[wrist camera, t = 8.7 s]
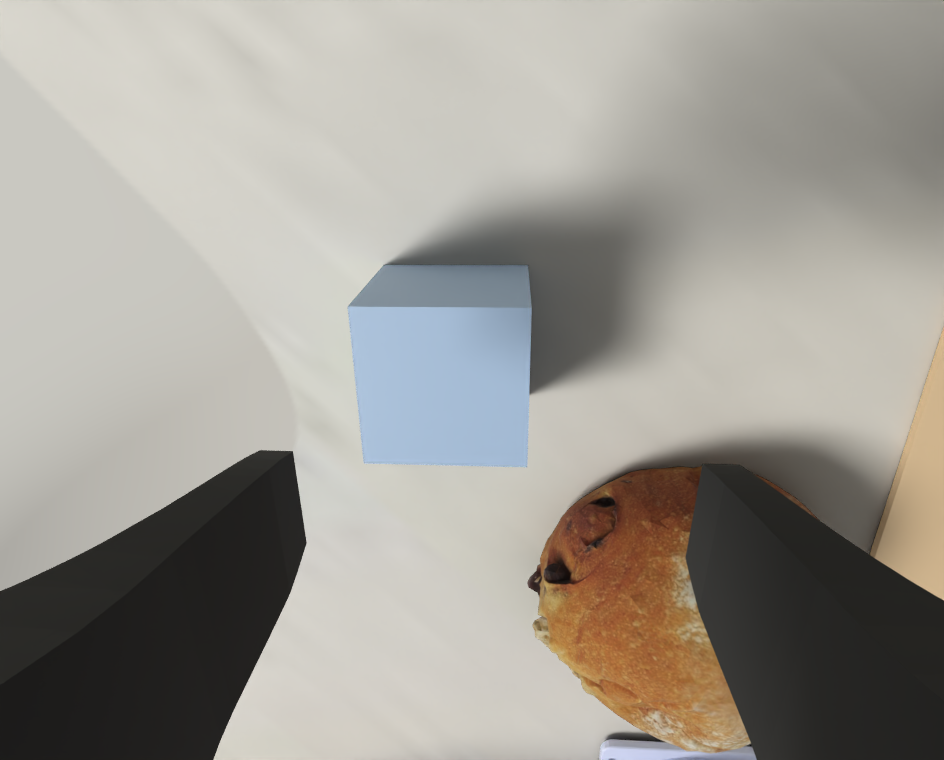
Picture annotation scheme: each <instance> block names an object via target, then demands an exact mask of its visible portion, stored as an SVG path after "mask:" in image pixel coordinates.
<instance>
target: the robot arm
mask: <svg viewBox="0 0 944 760" xmlns="http://www.w3.org/2000/svg"><path fill="white" fill-rule="evenodd" d="M305 546H306V537H305V530H304V523H303V516H302V510H301V503H300V496H299V490H298V483H297V476H296V470H295V463H294V456H293V451H263V450H261V451H258V452H256V453H254V454H252V455H250V456H248V457H246V458H244V459H243V460H241V461H239V462H237V463H236V464H234V465H233V466H231V467H229V468H228V469H226V470H224V471H223V472H221V473H220V474H218V475H216V476H215V477H213V478H212V479H210V480H208V481H207V482H205V483H203V484H202V485H200V486H199V487H197V488H195V489H194V490H192V491H190V492H189V493H188V494H186V495H184V496H182V497H181V498H179V499H177V500H176V501H174V502H173V503H171V504H169V505H168V506H166V507H164V508H163V509H161V510H159V511H158V512H156V513H154V514H152V515H150V516H149V517H147V518H145V519H143V520H142V521H140V522H138V523H136V524H135V525H133V526H131V527H129V528H128V529H126V530H124V531H122V532H121V533H119V534H117V535H115V536H113V537H112V538H110V539H108V540H106V541H105V542H103V543H101V544H99V545H97V546H95V547H93V548H92V549H89V550H88V551H86V552H84V553H82V554H80V555H78V556H76V557H74V558H72V559H70V560H68V561H66V562H64V563H61V564H59V565H57V566H55V567H53V568H51V569H49V570H47V571H45V572H42V573H40V574H38V575H36V576H34V577H32V578H30V579H28V580H25V581H23V582H21V583H19V584H16V585H14V586H12V587H10V588H7V589H5V590H2V591H0V760H213V759H214V756H215V753H216V751H217V748H218V745H219V743H220V740H221V738H222V735H223V733H224V731H225V729H226V726H227V724H228V722H229V719H230V717H231V715H232V713H233V710H234V708H235V706H236V704H237V702H238V700H239V698H240V696H241V694H242V692H243V690H244V688H245V686H246V684H247V682H248V680H249V678H250V676H251V674H252V671H253V669H254V667H255V665H256V663H257V661H258V659H259V657H260V655H261V653H262V651H263V649H264V647H265V645H266V643H267V641H268V639H269V637H270V635H271V632H272V630H273V628H274V626H275V624H276V622H277V620H278V618H279V616H280V614H281V612H282V609H283V607H284V605H285V603H286V601H287V599H288V597H289V594H290V592H291V589H292V586H293V583H294V580H295V577H296V574H297V572H298V568H299V565H300V562H301V559H302V556H303V552H304V549H305ZM685 558H686V563H687V567H688V571H689V575H690V579H691V584H692V588H693V592H694V595H695V599H696V603H697V607H698V610H699V613H700V616H701V619H702V621H703V624H704V627H705V629H706V632H707V634H708V637H709V639H710V642H711V644H712V647H713V650H714V652H715V655H716V657H717V660H718V662H719V665H720V667H721V670H722V672H723V675H724V677H725V680H726V682H727V685H728V687H729V690H730V692H731V695H732V697H733V700H734V702H735V705H736V707H737V710H738V712H739V715H740V717H741V719H742V722H743V724H744V727H745V729H746V732H747V734H748V737H749V739H750V742H751V745H752V747H748V746H744V747H742V748H740V749H734V750H728V751H724V752H719V753H711V754H710V753H705V752H699V751H685V750H684V749H682V748H680V747H678V746H675V745H672V744H669V743H666V742H652V741H633V740H613V739H612V740H606V741H604V742H603V743H602V744H601V747H600V755H599V760H944V600H942V599H941V598H939V597H937V596H935V595H934V594H932V593H930V592H928V591H927V590H925V589H923V588H922V587H920V586H918V585H917V584H915V583H913V582H912V581H910V580H908V579H907V578H905V577H904V576H902V575H900V574H899V573H897V572H896V571H894V570H893V569H891V568H889V567H888V566H886V565H885V564H883V563H882V562H880V561H878V560H877V559H875V558H874V557H872V556H870V555H869V554H867V553H866V552H864V551H863V550H861V549H860V548H858V547H857V546H855V545H854V544H852V543H851V542H849V541H848V540H846V539H845V538H843V537H842V536H841V535H839V534H838V533H836V532H835V531H833V530H832V529H830V528H829V527H828V526H826V525H825V524H823V523H822V522H820V521H819V520H818V519H816V518H815V517H813V516H812V515H811V514H809V513H808V512H806V511H805V510H804V509H802V508H801V507H799V506H798V505H797V504H795V503H794V502H792V501H791V500H790V499H788V498H787V497H785V496H784V495H783V494H781V493H780V492H779V491H777V490H776V489H774V488H773V487H772V486H770V485H769V484H767V483H766V482H764V481H763V480H762V479H760V478H759V477H757V476H756V475H754V474H753V473H751V472H750V471H748V470H747V469H745V468H743V467H742V466H740V465H729V464H702V469H701V475H700V480H699V486H698V491H697V497H696V502H695V508H694V513H693V519H692V524H691V530H690V535H689V541H688V546H687V552H686V557H685Z"/></svg>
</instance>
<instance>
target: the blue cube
mask: <svg viewBox="0 0 944 760" xmlns="http://www.w3.org/2000/svg"><path fill="white" fill-rule="evenodd" d="M348 314H349V323H350V333H351V343H352V352H353V362H354V372H355V382H356V391H357V401H358V411H359V421H360V430H361V440H362V450H363V459H364V463H373V464H415V465H457V466H499V467H527V455H528V420H529V385H530V350H531V315H532V306H531V294H530V283H529V271H528V265H383V267H382V268H381V269H380V270H379V271H378V272H377V273H376V275H375V276H374V277H373V278H372V279H371V280H370V282H369V283H368V284H367V285H366V286H365V287H364V288H363V290H362V291H361V292H360V293H359V294H358V295H357V297H356V298H355V299H354V300H353V301H352V302H351V303H350V305H349V306H348Z"/></svg>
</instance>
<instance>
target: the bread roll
mask: <svg viewBox="0 0 944 760" xmlns="http://www.w3.org/2000/svg"><path fill="white" fill-rule="evenodd" d="M701 469H702V466H700V467H695V468H690V467H672V468H661V469H645V470H639V471H634V472H630V473H628V474H626V475H624V476H622V477H619V478H617V479H616V480H614V481H611V482H609V483H607V484H605V485H603V486H601V487H600V488H598V489H596V490H594V491H593V492H591V493H589V494H588V495H586V496H585V497H583V498H582V499H580V500H579V501H578V502H576V503H575V504H574V505H573V506H572V507H570V508H569V509H568V510H567V512H566V513H565V514H564V515H563V516H562V517H561V519H560V521H559V523H558V525H557V526H556V528H555V530H554V531H553V533H552V534H551V536H550V537H549V538H548V540H547V542H546V544H545V547H544V549H543V552H542V555H541V558H540V563H541V564H539V565H538V566H537V571H536V572H535V573H534V574H533V575H532V576H531V577H530V579H529V580H528V582H527V583H528V587H529V588H531V589H533V590H534V591H535V592H538V595H539V597H540V601H539V607H538V615H540V616H542V617H540V618H539V619H537V620H535V621H534V623H533V628H534V630H535V637H536V638H537V639H539V640H541V641H542V642H543V643H544V644H545V645H546V646H547V647H549V649H550V650H551V652H552V653H556V654H557V655H558V658H559V660H561V661H562V662H564V663H565V664H567V665H568V666H569V668H570V669H571V670H572V672H573V674H574V675H575V676H576V677H578V678H580V679H581V685H582V687H583V689H584V690H585V692H586V693H589V694H591V695H594V696H595V697H596V698H597V699H598V700H600V701H601V702H602V703H603V704H604V705H605V706H607V707H608V708H609V709H610V710H612V711H613V712H614V713H616V714H617V715H618V716H620V717H621V718H623V719H625V720H626V721H628V722H629V723H631V724H632V725H633V726H635V727H637V728H639V729H641V730H643V731H644V732H646V733H648V734H650V735H652V736H654V737H656V738H658V739H660V740H662V741H664V742H666V743H669V744H672V745H675V746H678V747H680V748H682V749H684V750H685V751H699V752H705V753H710V754H711V753H719V752H724V751H728V750H734V749H740V748H742V747H744V746H746V745H749V744H751V742H750V739H749V737H748V734H747V732H746V729H745V727H744V724H743V722H742V719H741V717H740V715H739V712H738V710H737V707H736V705H735V702H734V700H733V697H732V695H731V692H730V690H729V687H728V685H727V682H726V680H725V677H724V675H723V672H722V670H721V667H720V665H719V662H718V660H717V657H716V655H715V652H714V650H713V647H712V644H711V642H710V639H709V637H708V634H707V632H706V629H705V627H704V624H703V621H702V619H701V616H700V613H699V610H698V607H697V603H696V599H695V595H694V592H693V588H692V584H691V579H690V575H689V571H688V567H687V563H686V558H685V557H686V552H687V546H688V541H689V535H690V530H691V524H692V519H693V513H694V508H695V502H696V497H697V491H698V486H699V480H700V475H701ZM754 475H755V474H754ZM756 476H757V477H759V478H760V479H762V480H763V481H764V482H766V483H767V484H769V485H770V486H772V487H773V488H774V489H776V490H777V491H779V492H780V493H781V494H783V495H784V496H785V497H787V498H788V499H790V500H791V501H792V502H794V503H795V504H797V505H798V506H799V507H801V508H802V509H804V510H805V511H806V512H808V513H809V514H811V515H812V516H813V517H815V518H816V519H817V517H816V516H815V515H814V514H813V513H812V512H811V511H810V510H809V509H808V508H807V507H806V506H804V505H803V504H802V503H801V502H800V501H799V500H797V499H796V498H795V497H794V496H792V495H791V494H789V493H787V492H786V491H784V490H783V489H781V488H780V487H778V486H776V485H775V484H773V483H771V482H770V481H768V480H766V479H764V478H762V477H760V476H758V475H756Z"/></svg>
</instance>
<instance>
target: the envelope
mask: <svg viewBox="0 0 944 760" xmlns="http://www.w3.org/2000/svg"><path fill="white" fill-rule="evenodd" d="M870 556H872V557H874V558H875V559H877V560H878V561H880V562H882V563H883V564H885V565H886V566H888V567H889V568H891V569H893V570H894V571H896V572H897V573H899V574H900V575H902V576H904V577H905V578H907V579H908V580H910V581H912V582H913V583H915V584H917V585H918V586H920V587H922V588H923V589H925V590H927V591H928V592H930V593H932V594H934V595H935V596H937V597H939V598H941V599H942V600H944V328H943V331H942V334H941V337H940V340H939V343H938V346H937V349H936V352H935V355H934V358H933V361H932V364H931V368H930V371H929V374H928V377H927V380H926V383H925V386H924V389H923V392H922V395H921V398H920V401H919V404H918V407H917V410H916V414H915V417H914V420H913V423H912V426H911V429H910V432H909V435H908V438H907V441H906V444H905V447H904V450H903V453H902V456H901V460H900V463H899V466H898V469H897V472H896V475H895V478H894V481H893V484H892V487H891V490H890V493H889V496H888V499H887V502H886V506H885V509H884V512H883V515H882V518H881V521H880V524H879V527H878V530H877V533H876V536H875V539H874V542H873V545H872V549H871V552H870Z"/></svg>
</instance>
